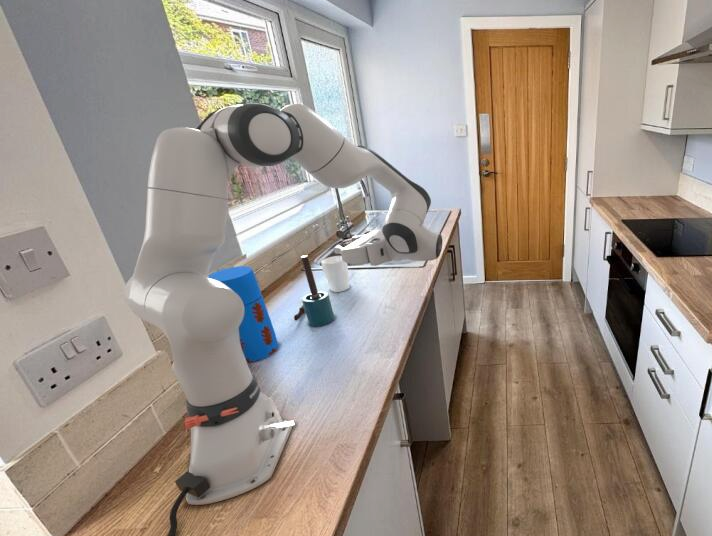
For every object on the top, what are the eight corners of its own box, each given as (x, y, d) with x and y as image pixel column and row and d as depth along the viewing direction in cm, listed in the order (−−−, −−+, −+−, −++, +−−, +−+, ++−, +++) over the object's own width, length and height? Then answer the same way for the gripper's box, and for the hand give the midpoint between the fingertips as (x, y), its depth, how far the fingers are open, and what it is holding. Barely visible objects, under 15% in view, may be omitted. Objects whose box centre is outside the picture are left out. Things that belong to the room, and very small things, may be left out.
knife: (308, 300, 149) (306, 293, 148) (313, 299, 149) (311, 292, 148) (294, 324, 133) (291, 316, 132) (299, 324, 133) (296, 316, 132)
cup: (343, 282, 163) (337, 254, 158) (357, 286, 158) (350, 258, 153) (323, 290, 157) (315, 261, 152) (336, 295, 152) (329, 265, 147)
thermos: (260, 363, 113) (229, 282, 102) (228, 360, 115) (195, 280, 105) (287, 342, 123) (261, 266, 112) (257, 340, 125) (229, 265, 114)
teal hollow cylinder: (334, 323, 132) (327, 298, 129) (308, 328, 130) (301, 303, 126) (334, 312, 139) (328, 289, 135) (309, 317, 137) (302, 294, 133)
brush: (327, 319, 133) (309, 257, 124) (316, 321, 132) (297, 259, 123) (327, 314, 136) (310, 253, 127) (316, 317, 135) (298, 255, 126)
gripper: (401, 224, 124) (360, 224, 126) (368, 246, 106) (321, 245, 108) (404, 244, 127) (364, 243, 129) (373, 268, 108) (326, 267, 111)
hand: (344, 244), depth 118 cm, fingers open, 8 cm apart
